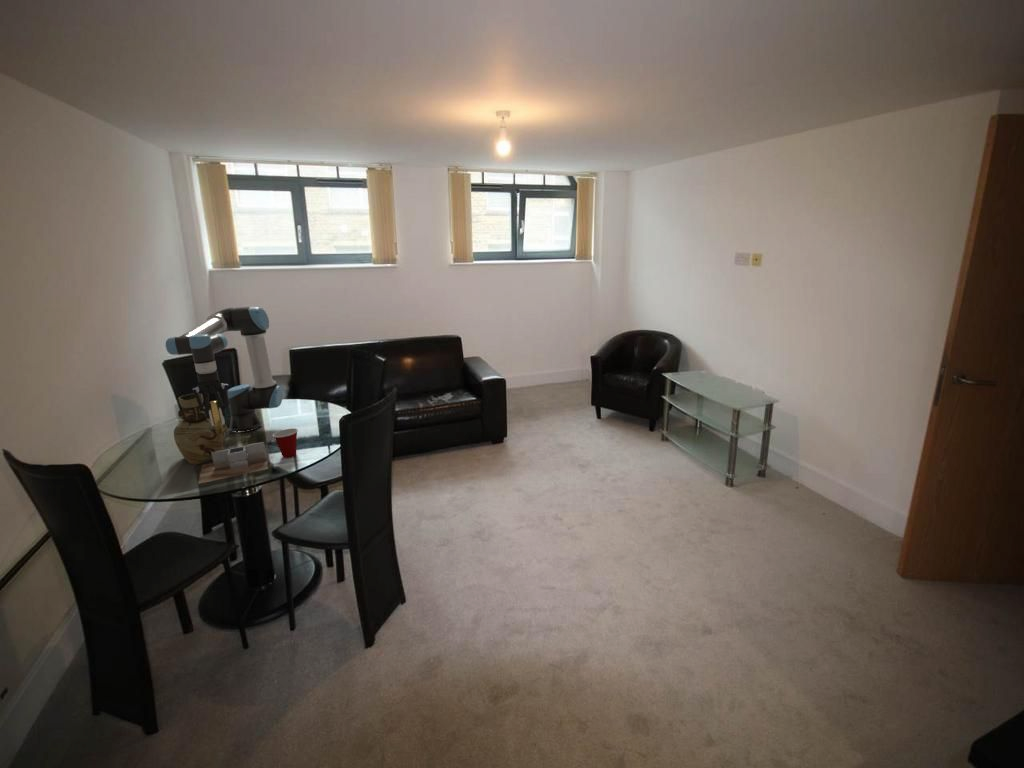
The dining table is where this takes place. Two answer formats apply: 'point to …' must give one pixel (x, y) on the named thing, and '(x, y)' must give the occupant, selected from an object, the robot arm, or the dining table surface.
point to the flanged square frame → (228, 456)
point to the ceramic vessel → (196, 432)
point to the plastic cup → (287, 442)
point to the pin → (216, 417)
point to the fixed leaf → (250, 456)
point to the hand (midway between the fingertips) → (218, 424)
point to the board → (228, 471)
